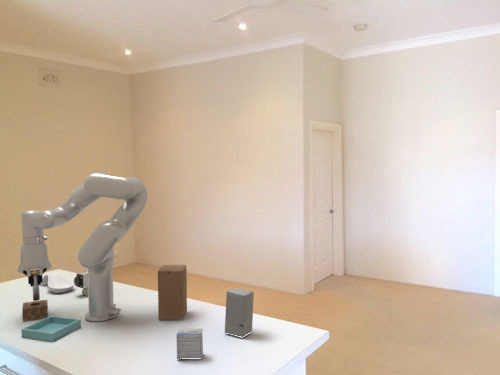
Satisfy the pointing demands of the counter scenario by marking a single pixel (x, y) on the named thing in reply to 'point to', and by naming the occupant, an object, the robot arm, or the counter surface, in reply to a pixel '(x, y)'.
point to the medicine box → (189, 343)
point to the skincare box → (239, 312)
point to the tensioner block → (35, 310)
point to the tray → (51, 328)
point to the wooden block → (172, 292)
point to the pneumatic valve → (82, 282)
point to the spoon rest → (57, 283)
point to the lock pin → (35, 284)
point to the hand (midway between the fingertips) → (35, 284)
